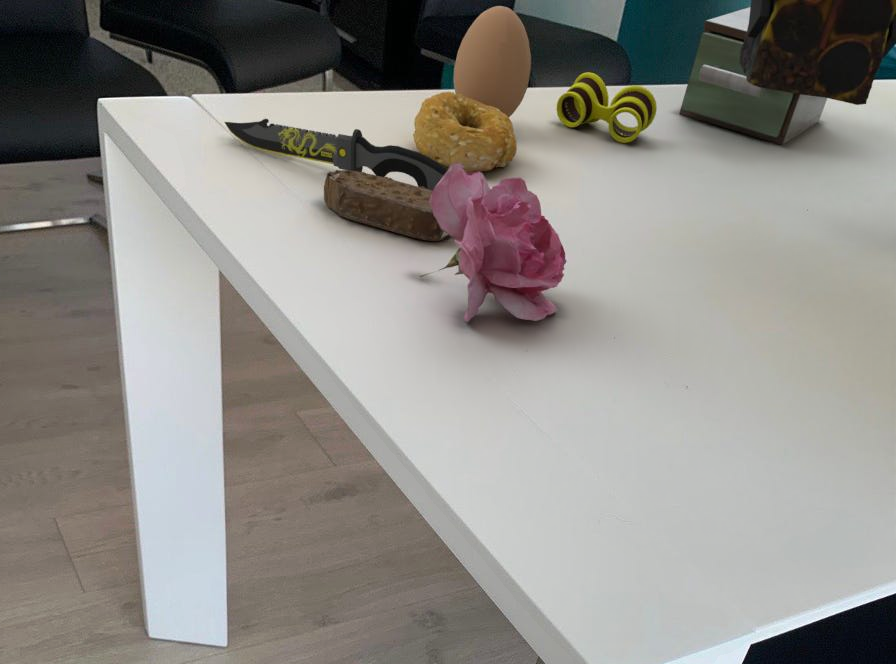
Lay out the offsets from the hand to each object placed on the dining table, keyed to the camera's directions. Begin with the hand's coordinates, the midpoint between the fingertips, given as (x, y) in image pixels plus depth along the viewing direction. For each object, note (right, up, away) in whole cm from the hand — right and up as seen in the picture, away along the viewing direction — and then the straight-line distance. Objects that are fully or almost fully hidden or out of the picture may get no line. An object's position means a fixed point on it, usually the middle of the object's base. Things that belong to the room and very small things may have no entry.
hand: (822, 37), depth 84 cm
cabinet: (+7, +13, +40) cm, 42 cm away
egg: (-27, +3, +22) cm, 35 cm away
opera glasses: (-14, +5, +26) cm, 30 cm away
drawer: (+5, +11, +36) cm, 38 cm away
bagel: (-29, -4, +13) cm, 32 cm away
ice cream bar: (-34, -16, -2) cm, 38 cm away
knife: (-41, -9, +5) cm, 42 cm away
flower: (-28, -25, -11) cm, 39 cm away
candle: (0, -1, +5) cm, 5 cm away
